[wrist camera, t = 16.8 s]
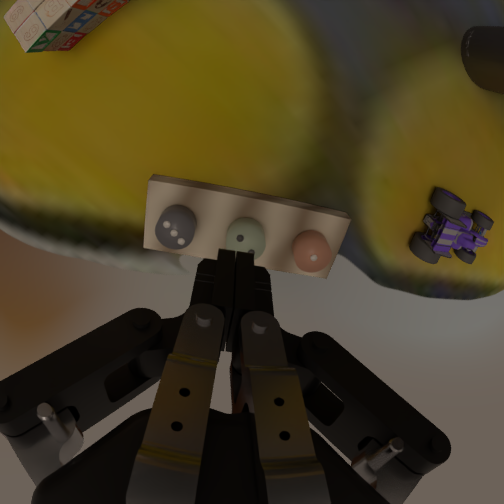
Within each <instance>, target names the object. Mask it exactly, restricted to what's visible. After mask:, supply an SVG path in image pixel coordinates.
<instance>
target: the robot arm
mask: <svg viewBox="0 0 504 504" xmlns="http://www.w3.org/2000/svg"><path fill="white" fill-rule="evenodd" d="M461 56H462V61H463V64H464V67H465V70H466V72H467V74H468V75H469V77H470V78H471V80H472V81H473V82H474V83H475V84H476V85H478V86H479V87H480V88H483V89H486V90H489V91H493V92H497V93H500V94H504V27H500V26H474V27H472V28H470V29H469V30H467V31H466V33H465V34H464V36H463V39H462V43H461ZM235 253H236V256H235ZM270 281H271V280H270V274H269V273H268V271H267V270H266V268H265V267H262V266H255V265H254V253H247V252H241V251H237V252H236V251H234V250H227V249H221V248H219V249H218V256H217V260H215V259H208V258H204V259H203V260H202V261H201V262H200V263H199V264H198V267H197V272H196V277H195V282H194V286H193V291H192V296H191V302H190V306H189V308H188V309H187V310H186V312H185V313H184V314H182V315H180V316H178V317H174V318H166V319H161V317H160V316H159V315H158V314H157V313H156V312H155V311H153V310H150V309H147V308H136V309H132V310H130V311H128V312H126V313H124V314H122V315H121V316H119V317H117V318H115V319H113V320H111V321H109V322H108V323H106V324H104V325H102V326H100V327H98V328H97V329H95V330H93V331H92V332H89V333H87V334H86V335H84V336H82V337H80V338H78V339H76V340H75V341H73V342H71V343H69V344H67V345H65V346H64V347H62V348H60V349H58V350H56V351H54V352H53V353H51V354H49V355H47V356H46V357H44V358H42V359H40V360H38V361H36V362H34V363H33V364H31V365H29V366H27V367H25V368H24V369H22V370H20V371H18V372H16V373H15V374H13V375H11V376H9V377H7V378H5V379H3V380H2V381H0V432H1V433H2V435H3V436H4V437H5V438H6V439H7V440H8V441H9V443H10V444H11V446H12V448H13V450H14V451H15V453H16V454H17V457H18V458H19V460H20V462H21V463H22V465H23V467H24V468H25V470H26V471H27V473H28V474H29V476H30V477H31V479H32V480H33V482H34V483H35V485H36V486H37V487H36V489H35V491H34V493H33V496H32V501H31V504H403V502H404V501H405V500H406V498H407V497H408V496H409V495H410V493H411V492H412V491H413V489H414V488H415V486H416V485H417V484H418V482H419V480H420V479H421V478H422V476H424V475H425V474H427V473H428V472H430V471H431V470H433V469H434V468H436V467H438V466H439V465H441V464H442V463H444V462H445V461H446V460H447V459H448V458H449V456H450V453H451V445H450V441H449V439H448V438H447V436H446V435H445V434H444V433H443V432H442V431H441V430H440V429H438V428H437V427H436V426H435V425H434V424H433V423H431V422H430V421H429V420H428V419H426V418H425V417H424V416H423V415H422V414H421V413H419V412H418V411H417V410H416V409H415V408H414V407H412V406H411V405H410V404H409V403H408V402H406V401H405V400H404V399H403V398H402V397H400V396H399V395H398V394H397V393H396V392H395V391H394V390H392V389H391V388H390V387H389V386H388V385H386V384H385V383H384V382H383V381H382V380H380V379H379V378H378V377H377V376H376V375H375V374H374V373H372V372H371V371H370V370H369V369H368V368H367V367H365V366H364V365H363V364H362V363H361V362H360V361H358V360H357V359H356V358H355V357H354V356H352V355H351V354H350V353H349V352H348V351H347V350H346V349H344V348H343V347H342V346H341V345H340V344H339V343H338V342H336V341H335V340H334V339H333V338H332V337H330V336H329V335H327V334H325V333H322V332H318V331H313V332H308V333H306V334H305V335H304V336H303V337H299V336H296V335H293V334H290V333H288V332H286V331H285V330H283V329H282V328H281V327H280V325H279V323H278V321H277V319H276V318H275V317H274V311H273V301H272V292H271V282H270ZM225 343H226V351H227V352H232V360H231V365H230V384H231V400H232V414H226V413H223V412H220V411H217V410H214V409H211V408H210V403H211V397H212V391H213V385H214V379H215V373H216V368H217V364H218V362H219V357H220V352H221V351H224V348H225ZM160 379H161V380H160ZM159 380H160V383H159V386H158V390H157V393H156V396H155V400H154V403H153V407H152V408H150V409H146V410H143V411H140V412H138V413H136V414H134V415H132V416H130V417H129V418H128V419H126V420H125V421H124V422H122V423H121V424H120V425H118V426H117V427H116V428H114V429H113V430H112V431H110V432H109V433H108V434H106V435H105V436H104V437H102V438H101V439H99V440H98V441H97V442H95V443H94V444H93V445H91V446H90V447H88V448H87V449H86V450H84V451H83V452H82V453H80V454H79V455H77V456H76V457H75V458H73V456H74V455H75V454H76V453H77V452H78V451H79V450H80V449H81V447H82V445H83V440H84V438H83V433H82V432H84V431H85V430H87V429H89V428H90V427H91V426H93V425H95V424H96V423H98V422H99V421H101V420H102V419H104V418H105V417H107V416H108V415H110V414H111V413H113V412H114V411H116V410H117V409H119V408H120V407H122V406H123V405H124V404H126V403H127V402H129V401H130V400H132V399H133V398H135V397H136V396H137V395H139V394H140V393H142V392H143V391H145V390H146V389H148V388H149V387H150V386H152V385H153V384H155V383H156V382H158V381H159ZM321 382H322V383H324V384H325V385H326V386H327V387H328V388H329V389H330V390H331V391H332V392H333V393H334V394H335V395H336V396H337V397H339V398H340V399H341V400H340V399H339V398H337V397H336V396H335V395H334V394H333V393H332V392H331V391H330V390H329V389H327V387H326V386H324V385H323V384H322V383H321ZM308 421H310V422H311V423H312V424H313V425H314V426H315V427H316V428H317V429H318V430H319V431H320V432H321V433H322V434H323V435H324V436H325V437H326V438H327V439H328V440H329V441H330V442H331V443H332V444H334V445H335V446H336V447H337V448H338V449H339V450H340V451H341V452H342V453H343V454H344V455H345V456H346V457H348V458H349V459H350V460H351V466H350V465H349V464H348V463H347V462H346V461H345V460H344V459H343V458H342V457H341V456H340V455H338V453H337V452H336V451H335V450H334V449H333V448H332V447H331V446H330V445H329V444H328V443H327V442H326V441H325V440H324V439H323V438H322V437H321V436H320V435H319V434H318V433H316V432H315V431H314V430H312V429H311V428H310V427H309V423H308ZM72 458H73V459H72Z"/></svg>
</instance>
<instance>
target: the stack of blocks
mask: <svg viewBox="0 0 504 504" xmlns="http://www.w3.org/2000/svg"><path fill="white" fill-rule="evenodd" d="M128 2H129V0H17V2H16V3H15V4H14V5H13V6H12V7H11V8H10V10H9V11H8V12H7V13H6V14H5V15H4V19H5V20H6V22H7V24H8V25H9V27H10V29H11V31H12V32H13V33H14V34H15V36H16V38H17V40H18V41H19V43H20V44H21V46H22V48H23V49H24V51H25V52H26V53H30V52H42V51H57V50H59V51H68V50H70V49H71V48H72V47H73V46H74V45H75V44H76V43H77V42H78V41H79V40H81V39H82V38H83V37H84V36H85V35H86V34H87V33H89V32H91V31H92V30H93V29H94V28H95V27H97V26H98V25H99V24H100V23H101V22H103V21H104V20H105V19H106V18H107V17H109V16H110V15H112V14H113V13H114V12H115V11H117V10H118V9H119V8H121V7H122V6H124V5H125V4H126V3H128Z"/></svg>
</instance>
